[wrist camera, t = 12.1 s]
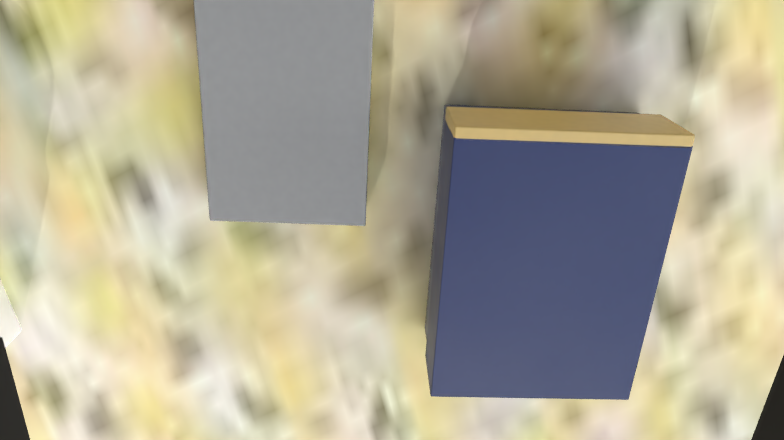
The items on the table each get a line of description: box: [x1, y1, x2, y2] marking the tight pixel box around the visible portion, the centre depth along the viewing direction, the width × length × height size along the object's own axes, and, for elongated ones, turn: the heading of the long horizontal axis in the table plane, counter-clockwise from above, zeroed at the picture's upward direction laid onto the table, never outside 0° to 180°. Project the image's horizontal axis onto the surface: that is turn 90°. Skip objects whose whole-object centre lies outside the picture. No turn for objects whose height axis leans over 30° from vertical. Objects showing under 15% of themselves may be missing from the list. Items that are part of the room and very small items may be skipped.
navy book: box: [425, 107, 695, 400], centre depth 27 cm, size 12×9×3 cm
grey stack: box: [194, 0, 374, 226], centre depth 27 cm, size 12×7×5 cm, turn 177°
